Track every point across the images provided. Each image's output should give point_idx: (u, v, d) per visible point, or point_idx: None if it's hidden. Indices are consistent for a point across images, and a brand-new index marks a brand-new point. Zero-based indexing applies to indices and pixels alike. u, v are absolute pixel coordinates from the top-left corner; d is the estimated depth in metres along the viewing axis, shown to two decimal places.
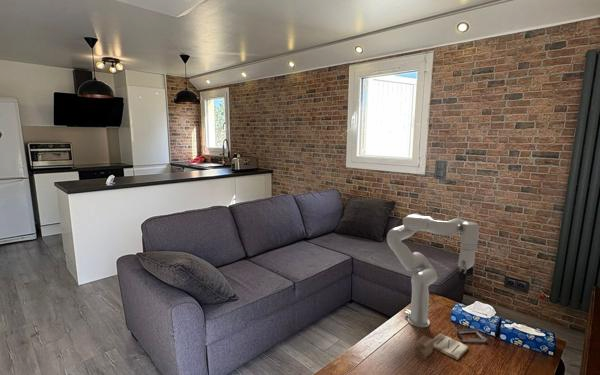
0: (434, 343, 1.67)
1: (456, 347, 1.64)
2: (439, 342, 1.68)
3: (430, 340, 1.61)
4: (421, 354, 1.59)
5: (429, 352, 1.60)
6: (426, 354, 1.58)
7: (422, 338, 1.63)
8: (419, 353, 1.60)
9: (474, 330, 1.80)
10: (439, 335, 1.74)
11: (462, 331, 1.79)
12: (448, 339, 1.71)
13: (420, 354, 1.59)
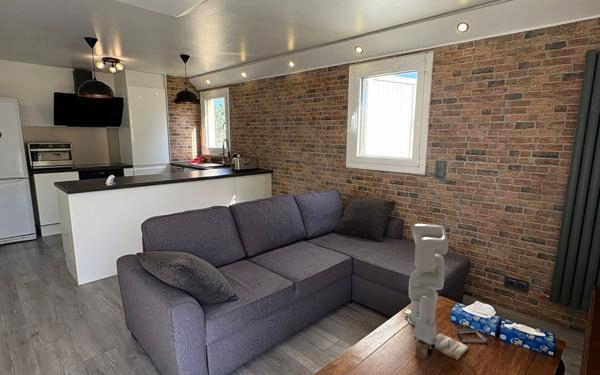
0: (434, 343, 1.67)
1: (456, 347, 1.64)
2: (439, 342, 1.68)
3: None
4: (421, 354, 1.59)
5: None
6: (426, 354, 1.58)
7: None
8: (419, 353, 1.60)
9: (474, 330, 1.80)
10: (439, 335, 1.74)
11: (462, 331, 1.79)
12: (448, 339, 1.71)
13: (420, 354, 1.59)
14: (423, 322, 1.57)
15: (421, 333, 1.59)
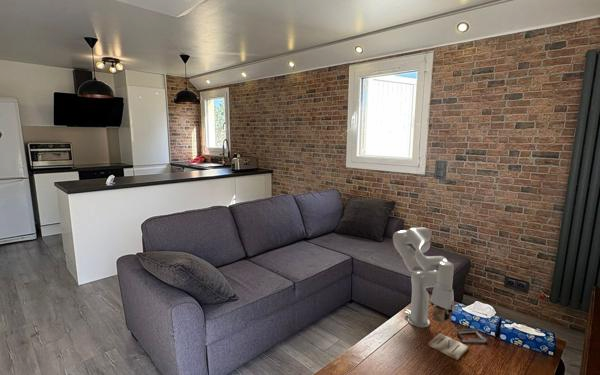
0: (434, 343, 1.67)
1: (456, 347, 1.64)
2: (439, 342, 1.68)
3: None
4: (438, 319, 1.65)
5: None
6: (443, 319, 1.64)
7: None
8: (436, 318, 1.66)
9: (474, 330, 1.80)
10: (439, 335, 1.74)
11: (462, 331, 1.79)
12: (448, 339, 1.71)
13: (437, 319, 1.65)
14: (441, 288, 1.62)
15: (438, 299, 1.65)
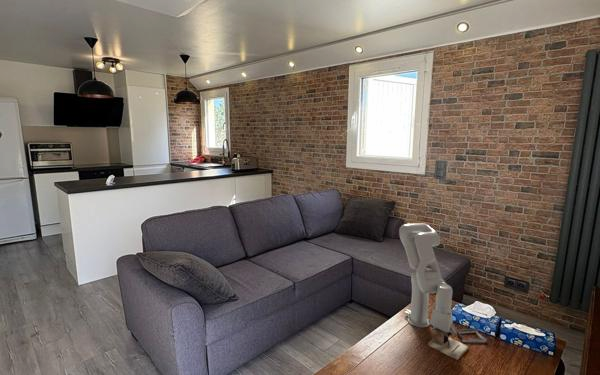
0: (434, 343, 1.67)
1: (456, 347, 1.64)
2: None
3: None
4: (438, 341, 1.66)
5: None
6: (442, 341, 1.66)
7: None
8: (436, 340, 1.67)
9: (474, 330, 1.80)
10: None
11: (462, 331, 1.79)
12: (448, 339, 1.71)
13: (437, 341, 1.67)
14: (440, 311, 1.64)
15: (438, 322, 1.67)
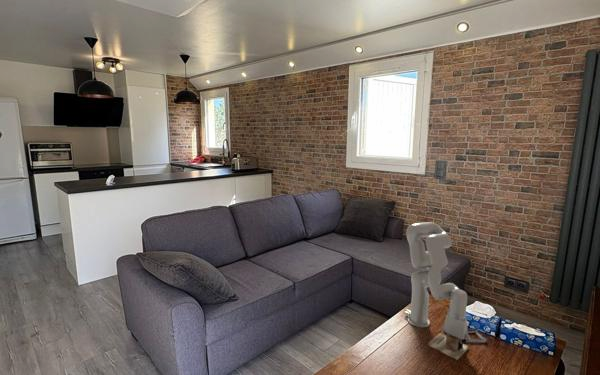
0: (434, 343, 1.67)
1: None
2: (439, 342, 1.68)
3: None
4: (452, 348, 1.61)
5: None
6: (457, 348, 1.61)
7: None
8: (450, 347, 1.62)
9: (474, 330, 1.79)
10: (439, 335, 1.74)
11: None
12: None
13: (451, 348, 1.61)
14: (454, 317, 1.59)
15: (452, 328, 1.61)
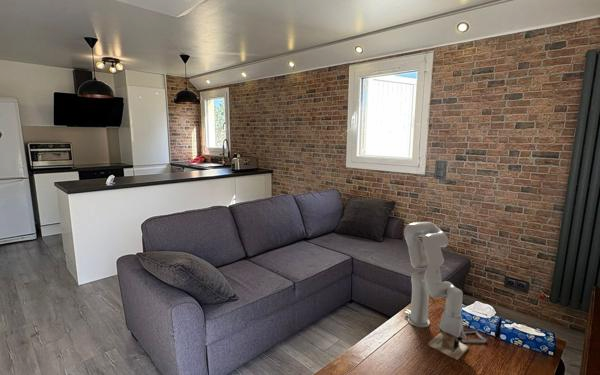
0: (434, 343, 1.67)
1: (456, 347, 1.64)
2: (439, 342, 1.68)
3: None
4: (448, 346, 1.62)
5: None
6: (453, 346, 1.62)
7: None
8: (445, 345, 1.63)
9: (474, 330, 1.79)
10: (439, 335, 1.74)
11: None
12: None
13: (447, 346, 1.63)
14: (450, 315, 1.60)
15: (447, 326, 1.63)
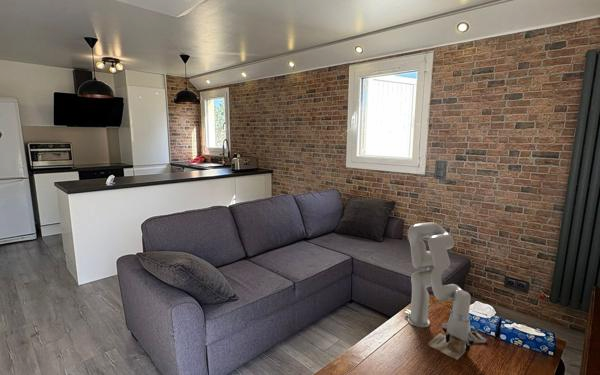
0: (434, 343, 1.67)
1: None
2: (439, 342, 1.68)
3: None
4: (455, 350, 1.60)
5: (462, 348, 1.62)
6: (460, 350, 1.59)
7: None
8: (452, 349, 1.61)
9: (474, 331, 1.79)
10: (439, 335, 1.74)
11: None
12: None
13: (453, 350, 1.60)
14: (457, 318, 1.58)
15: (455, 329, 1.60)
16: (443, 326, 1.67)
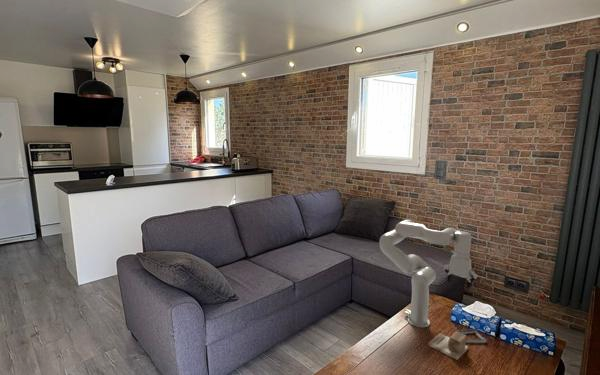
0: (434, 343, 1.67)
1: None
2: (439, 342, 1.68)
3: (463, 336, 1.62)
4: (455, 350, 1.60)
5: (462, 348, 1.62)
6: (460, 350, 1.59)
7: (455, 334, 1.64)
8: (452, 349, 1.61)
9: (474, 331, 1.79)
10: (439, 335, 1.74)
11: (462, 332, 1.78)
12: (448, 339, 1.71)
13: (453, 350, 1.60)
14: (459, 257, 1.66)
15: (456, 268, 1.69)
16: (445, 267, 1.75)
